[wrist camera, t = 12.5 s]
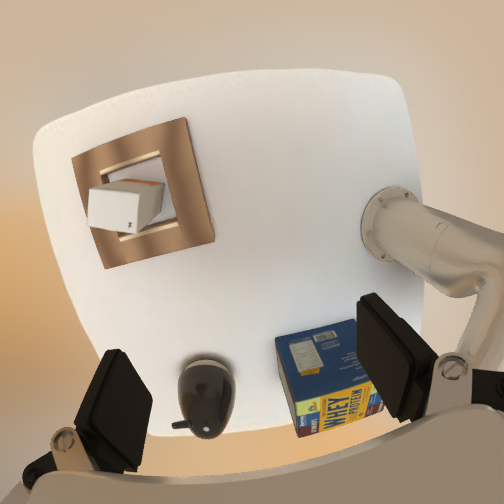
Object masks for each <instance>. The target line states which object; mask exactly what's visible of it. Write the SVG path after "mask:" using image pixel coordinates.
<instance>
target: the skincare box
mask: <svg viewBox="0 0 504 504" xmlns="http://www.w3.org/2000/svg"><path fill="white" fill-rule="evenodd" d="M163 191H164V183H157V182H148V181H140V180H133V179H123V180H119V181H115V182H111V183H107V184H104V185H100V186H97V187H93V188H90V189H89V199H88V213H87V226H89V227H95V228H101V229H106V230H110V231H119V232H126V233H133V234H137V233H138V232H139V231H140V230H141V229H142V228H144V227H145V226H146V225H147V224H148V223H149V222H150V221H151V220H152V219H153V218H154V217H156V216H157V215H158V214H159V213H160V212H161V206H162V198H163Z"/></svg>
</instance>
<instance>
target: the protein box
mask: <svg viewBox="0 0 504 504" xmlns="http://www.w3.org/2000/svg"><path fill="white" fill-rule="evenodd" d="M356 336H357V322H356V321H355V319H351V320H347V321H344V322H340V323H336V324H332V325H328V326H325V327H321V328H316V329H312V330H308V331H303V332H299V333H295V334H290V335H285V336H281V337H276V338H275V343H276V351H277V359H278V367H279V375H280V379H281V382H282V386H283V389H284V392H285V396H286V399H287V402H288V406H289V409H290V413H291V416H292V420H293V423H294V426H295V430H296V433H297V436H298V437H299V438H300V437H304V436H308V435H312V434H315V433H319V432H323V431H326V430H330V429H333V428H336V427H339V426H342V425H345V424H348V423H352V422H354V421H357V420H360V419H363V418H365V417H368V416H370V415H373V414H376V413H378V412H381V411H383V409H384V406H385V404H384V402H383V401H382V399H381V397H380V395H379V394H378V392H377V390H376V389H375V387H374V385H373V384H372V382H371V380H370V379H369V377H368V375H367V374H366V372H365V370H364V369H363V367H362V365H361V364H360V362H359V360H358V358H357V355H356Z"/></svg>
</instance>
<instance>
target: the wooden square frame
mask: <svg viewBox="0 0 504 504" xmlns="http://www.w3.org/2000/svg"><path fill="white" fill-rule="evenodd" d="M159 156H161V158H162V162H163V166H164V170H165V174H166V178H167V182H168V186H169V190H170V194H171V197H172V201H173V205H174V208H175V212H176V216H177V218H174V219H170V220H166V221H163V222H159V223H155V224H152V225H148V226H145V227H144V228H142V229H141V230H140V231H139V232H138V233H137V234H133V233H126V232H119V231H110V230H106V229H101V228H95V227H90V229H91V232H92V235H93V238H94V241H95V244H96V247H97V250H98V252H99V255H100V258H101V260H102V263H103V266H104V268H105V269H109V268H113V267H117V266H120V265H124V264H128V263H132V262H136V261H140V260H143V259H147V258H151V257H155V256H159V255H163V254H167V253H171V252H175V251H179V250H183V249H187V248H191V247H195V246H199V245H203V244H207V243H211V242H215V235H214V231H213V227H212V224H211V220H210V216H209V212H208V208H207V204H206V200H205V196H204V192H203V188H202V184H201V180H200V176H199V171H198V167H197V163H196V159H195V154H194V150H193V146H192V141H191V137H190V133H189V128H188V124H187V119H186V118H185V117H183V118H179V119H175V120H172V121H168V122H165V123H162V124H159V125H155V126H152V127H149V128H146V129H143V130H140V131H137V132H134V133H132V134H129V135H126V136H123V137H121V138H118V139H116V140H113V141H110V142H108V143H105V144H103V145H100V146H98V147H96V148H93V149H91V150H89V151H86V152H84V153H82V154H80V155H78V156H75V157H73V158H71V159H72V164H73V168H74V173H75V177H76V181H77V185H78V189H79V192H80V196H81V200H82V203H83V207H84V210H85V213H86V217H87V213H88V199H89V189H90V188H93V187H97V186H100V185H104V184H107V183H109V179H108V175H107V174H109V173H112V172H114V171H117V170H120V169H123V168H126V167H128V166H131V165H134V164H137V163H140V162H143V161H146V160H149V159H153V158H156V157H159Z"/></svg>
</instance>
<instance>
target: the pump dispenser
mask: <svg viewBox="0 0 504 504" xmlns="http://www.w3.org/2000/svg"><path fill="white" fill-rule="evenodd" d="M235 393H236V385H235V380H234V378H233V376H232V375H231V374H230V372H229V371H228V370H227V368H226V367H225V366H223V365H222V364H220V363H218V362H216V361H213V360H198V361H195V362H193V363H191V364H190V365H188V366H187V367H186V368H185V370H184V371H183V372H182V373H181V374H180V376H179V379H178V400H179V405H180V409H181V412H182V415H183V418H184V420H183V421H178V422H174V423H172V428H173V429H181V428H189V429H190V430H191V431H192V433H193V434H194V435H195V436H197V437H199V438H202V439H213V438H216V437H218V436H219V435H220V434H221V433H222V432H223V431H224V429H225V428H226V426H227V424H228V422H229V420H230V417H231V414H232V411H233V408H234V403H235Z"/></svg>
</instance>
